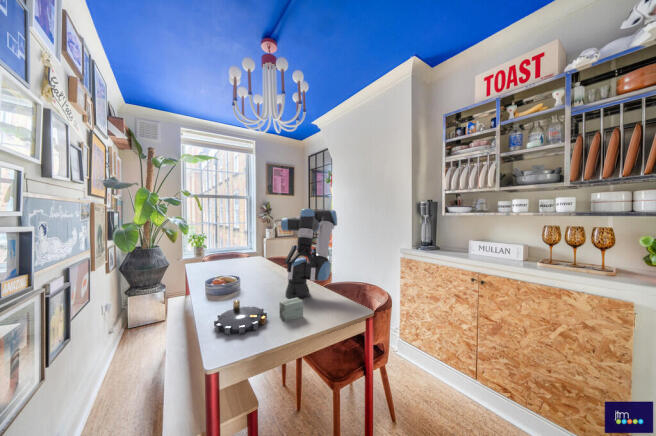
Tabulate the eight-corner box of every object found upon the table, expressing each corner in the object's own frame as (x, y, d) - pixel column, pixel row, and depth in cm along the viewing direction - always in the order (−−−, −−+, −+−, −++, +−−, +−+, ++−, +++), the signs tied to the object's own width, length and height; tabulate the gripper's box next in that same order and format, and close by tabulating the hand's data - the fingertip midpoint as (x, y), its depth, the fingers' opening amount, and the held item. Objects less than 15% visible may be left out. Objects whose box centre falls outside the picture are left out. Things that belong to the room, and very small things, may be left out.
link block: (279, 317, 113) (279, 301, 113) (297, 312, 119) (297, 297, 119) (284, 322, 108) (284, 305, 108) (303, 316, 114) (303, 300, 114)
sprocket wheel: (210, 319, 109) (210, 304, 109) (257, 307, 123) (256, 294, 122) (220, 340, 91) (220, 323, 90) (274, 324, 104) (274, 308, 104)
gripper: (288, 232, 107) (283, 278, 102) (328, 241, 123) (325, 281, 117) (280, 234, 113) (275, 278, 107) (319, 242, 128) (316, 280, 123)
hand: (301, 280), depth 112 cm, fingers open, 13 cm apart
